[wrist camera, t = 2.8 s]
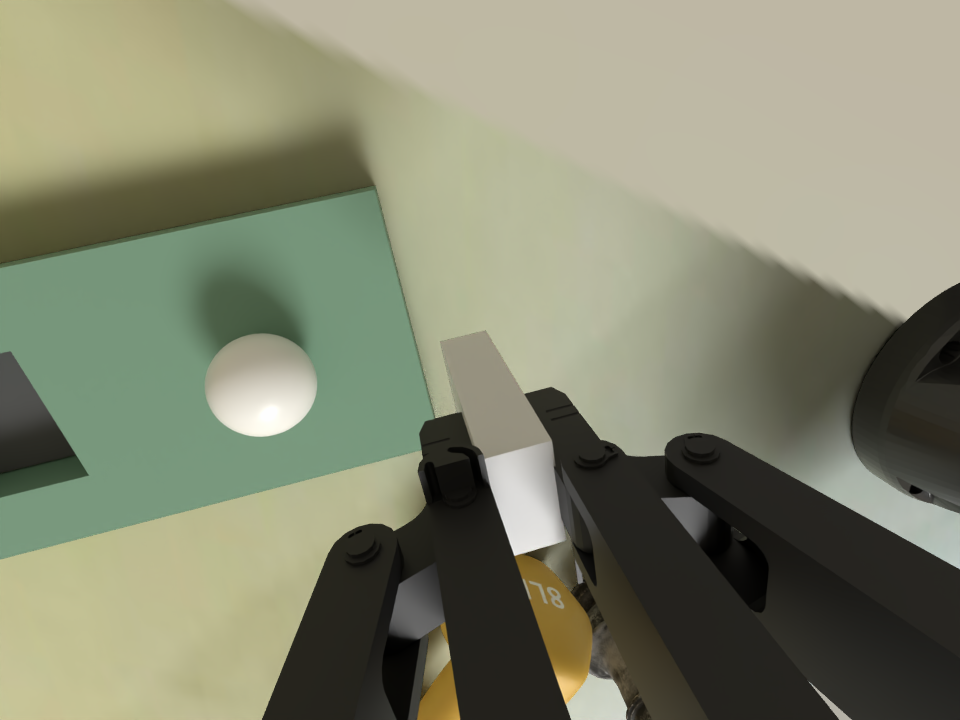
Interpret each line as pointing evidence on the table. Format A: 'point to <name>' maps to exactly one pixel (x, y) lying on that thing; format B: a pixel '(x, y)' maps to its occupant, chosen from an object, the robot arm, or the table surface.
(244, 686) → the table surface
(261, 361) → the ball
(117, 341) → the green
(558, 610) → the dumbbell
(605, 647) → the dark grey chess piece
